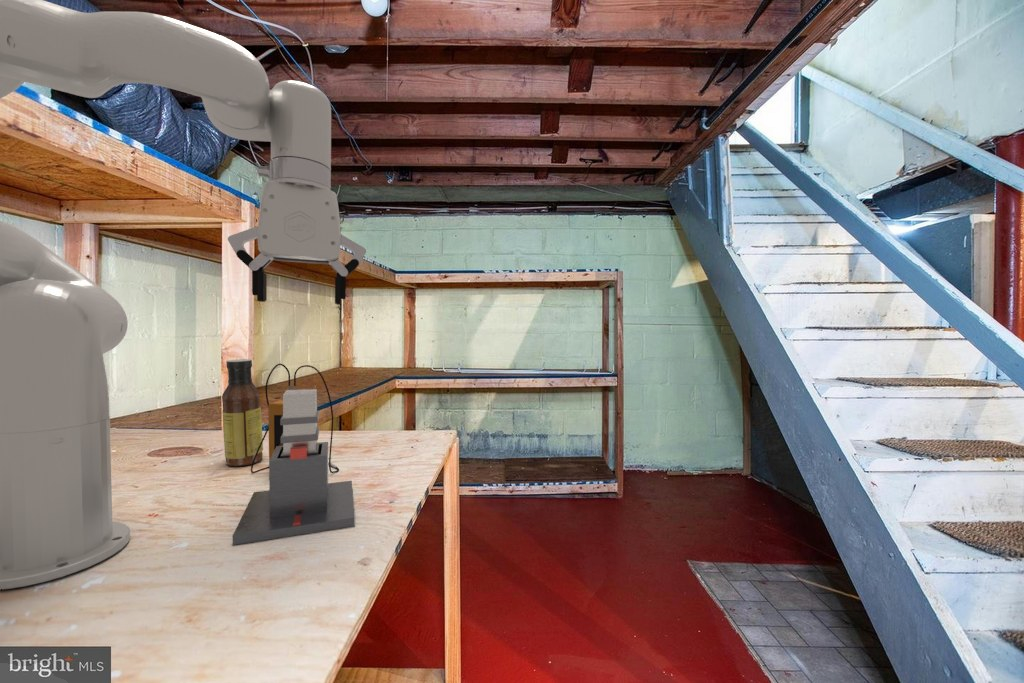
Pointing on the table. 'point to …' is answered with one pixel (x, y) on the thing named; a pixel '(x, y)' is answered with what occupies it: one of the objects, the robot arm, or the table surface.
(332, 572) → the table surface
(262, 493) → the stand base
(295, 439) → the column
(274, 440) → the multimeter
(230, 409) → the sauce bottle
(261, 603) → the table surface
